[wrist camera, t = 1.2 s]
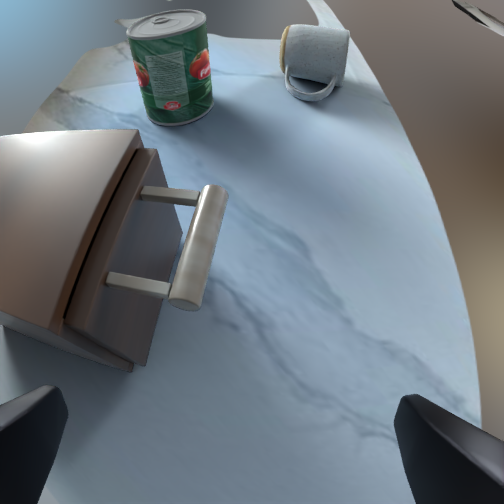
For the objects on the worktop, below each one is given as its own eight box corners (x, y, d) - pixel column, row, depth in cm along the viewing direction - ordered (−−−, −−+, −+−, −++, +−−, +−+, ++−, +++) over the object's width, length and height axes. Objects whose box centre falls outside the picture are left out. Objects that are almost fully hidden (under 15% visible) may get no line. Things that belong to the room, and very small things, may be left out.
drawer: (241, 241, 24) (236, 154, 17) (211, 382, 19) (184, 356, 12) (57, 215, 26) (11, 148, 18) (14, 322, 21) (-58, 274, 13)
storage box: (173, 230, 26) (138, 128, 16) (131, 372, 20) (47, 329, 11) (47, 213, 27) (-6, 136, 18) (2, 325, 21) (-82, 270, 12)
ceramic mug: (286, 59, 40) (289, 12, 33) (344, 70, 39) (353, 24, 32) (270, 98, 35) (272, 41, 28) (340, 111, 34) (352, 55, 27)
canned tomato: (226, 109, 34) (220, 20, 24) (160, 136, 31) (138, 44, 22) (196, 81, 37) (187, 5, 27) (138, 103, 35) (118, 25, 25)
